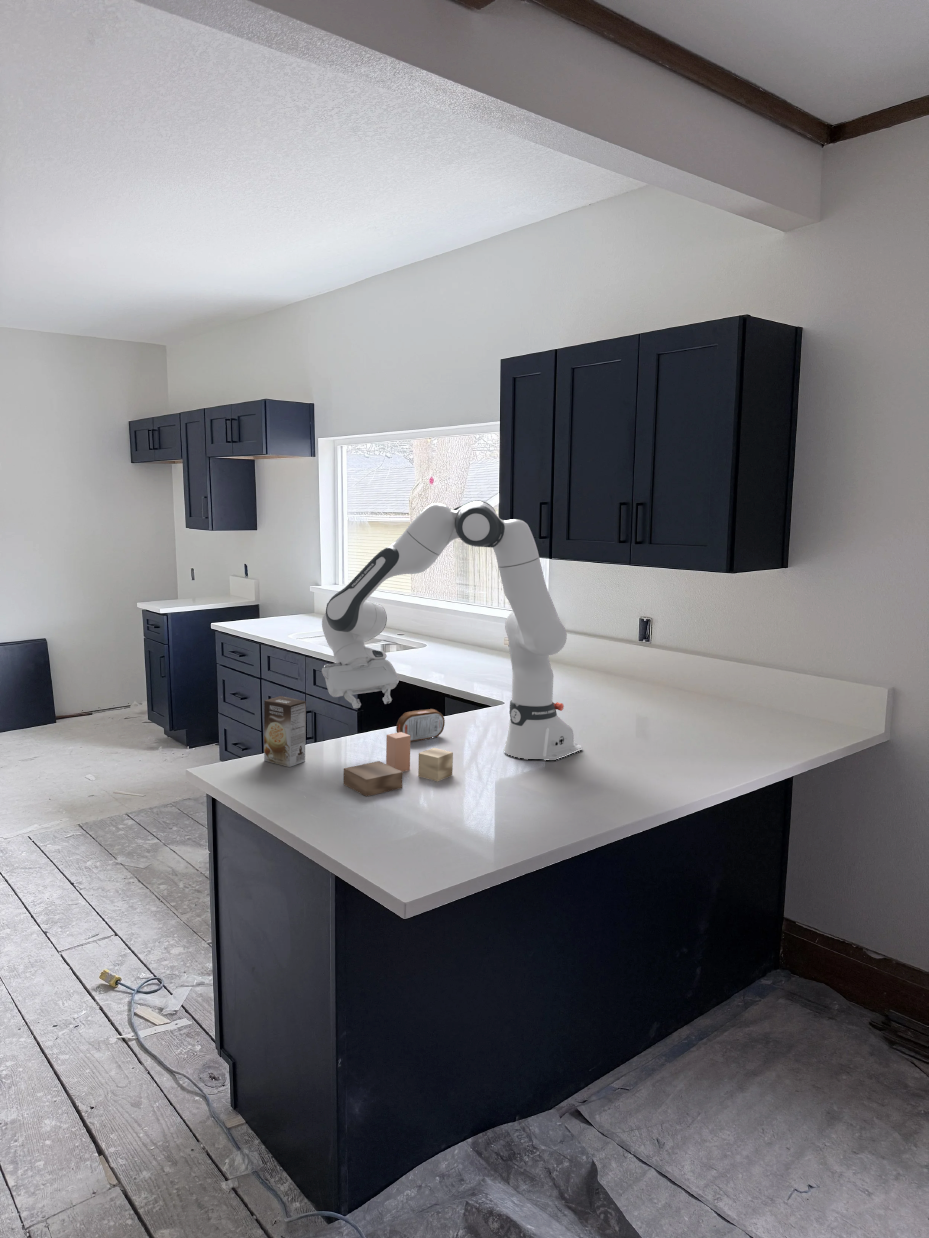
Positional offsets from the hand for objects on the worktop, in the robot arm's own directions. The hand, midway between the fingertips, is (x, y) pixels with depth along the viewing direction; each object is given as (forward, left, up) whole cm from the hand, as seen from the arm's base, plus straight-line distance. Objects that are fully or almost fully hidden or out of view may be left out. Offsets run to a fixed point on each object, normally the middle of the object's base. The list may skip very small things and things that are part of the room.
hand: (373, 704), depth 221 cm
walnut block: (+12, +19, -14) cm, 26 cm away
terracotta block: (0, +12, -14) cm, 19 cm away
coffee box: (+20, -10, -15) cm, 27 cm away
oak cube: (-5, +21, -14) cm, 26 cm away
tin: (-21, -7, -15) cm, 27 cm away
